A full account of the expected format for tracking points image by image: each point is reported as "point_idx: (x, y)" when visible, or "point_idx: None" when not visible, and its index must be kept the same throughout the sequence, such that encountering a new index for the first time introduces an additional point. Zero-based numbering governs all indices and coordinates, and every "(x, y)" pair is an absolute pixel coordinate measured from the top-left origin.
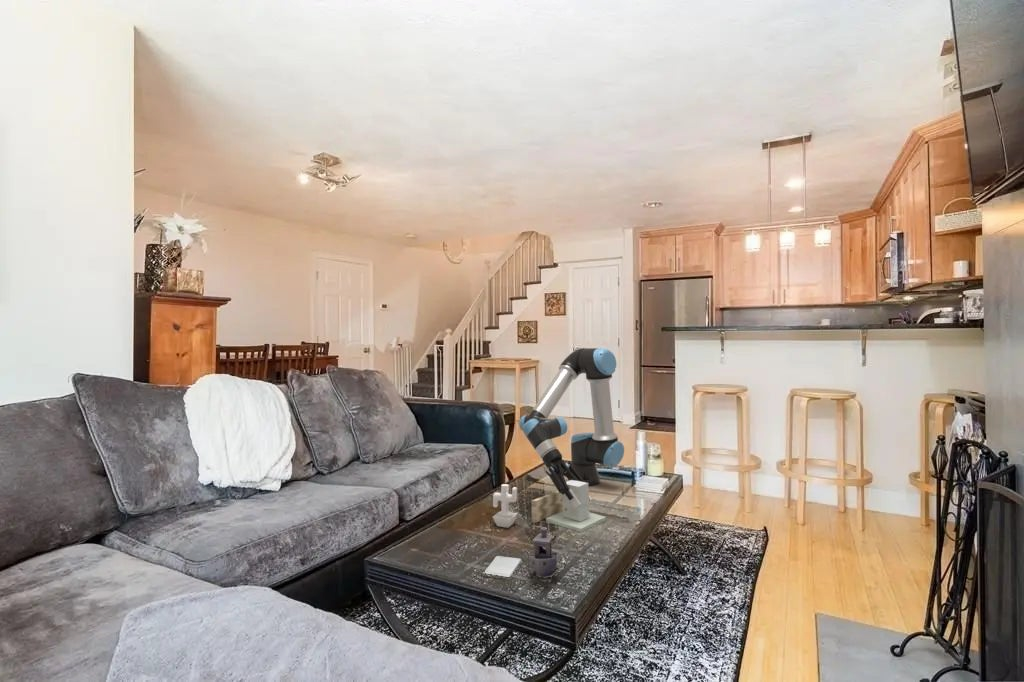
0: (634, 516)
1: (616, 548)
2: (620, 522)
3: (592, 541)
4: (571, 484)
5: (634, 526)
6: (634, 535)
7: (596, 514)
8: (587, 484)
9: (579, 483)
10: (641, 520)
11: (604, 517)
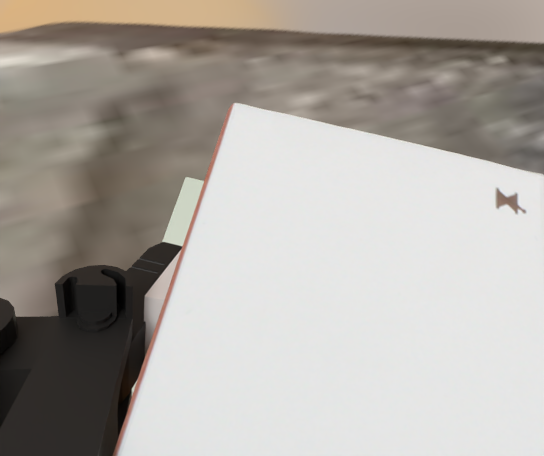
0: (73, 80)
1: (480, 65)
2: (190, 115)
3: (485, 158)
4: (522, 393)
5: (214, 56)
6: (317, 38)
7: (164, 237)
8: (268, 120)
9: (361, 240)
10: (121, 46)
11: (197, 180)
